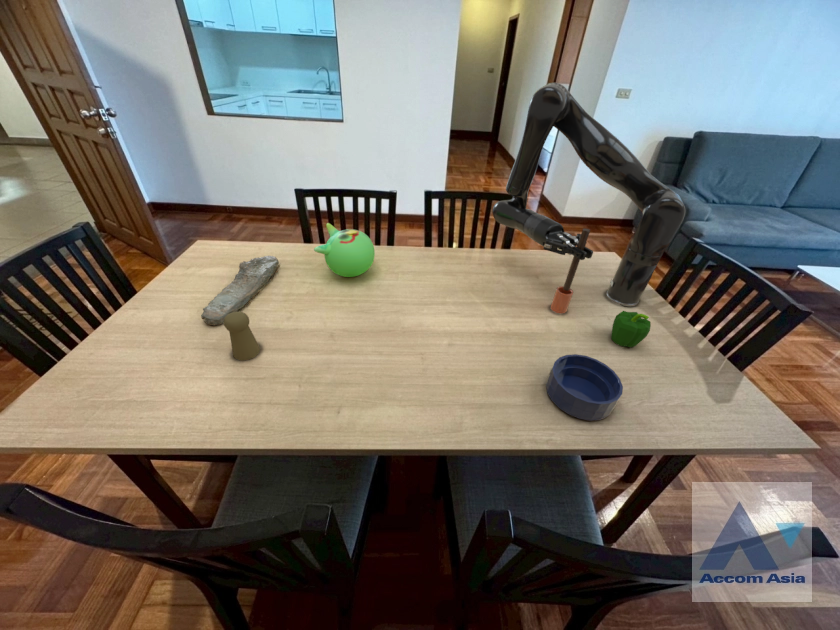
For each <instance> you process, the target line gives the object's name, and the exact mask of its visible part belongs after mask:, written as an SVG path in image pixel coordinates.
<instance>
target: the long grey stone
mask: <svg viewBox="0 0 840 630" xmlns="http://www.w3.org/2000/svg"><path fill="white" fill-rule="evenodd" d="M279 265H280V262H279V260H278V258H277V256H273V255H264V256H260V257H254V258H251V259H250V260H247V261H245V260H243V262H240V263H239V265H238V268H239V270H238V272H237V273H236V274H235V275H234V279H233V280H232V281H231V282H230V283H229V284H227V285H226V286H225V287H224V288H222V290H221V291H220V293H217V294H216V295H215V296H214V297H213V299H212V300H211V301H209V302H208V304H207V305H206V306H205V307H203V308H202V314H201V315H200V317H201V319H202V320H204V323H205V324H206V325H209V326H220V325H223V324H224V319H225V317H226V316H227V315H228V314H230V313H232V312H238V311H240V309H242V308H243V307H244V306H245V305H246V304H247V303H248V302H249V301H250V300H251V299H252V298H253V297H254V296H255V295H257V294H258V293H259V291H260V290H261V289H262V288H263V286H264V285H265V284H267V283H268V281H270V279H271V277H272V276H273V275H274V274H275V273H276V270H277V269H278V267H279Z"/></svg>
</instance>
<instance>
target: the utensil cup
mask: <svg viewBox="0 0 840 630" xmlns="http://www.w3.org/2000/svg"><path fill="white" fill-rule="evenodd" d="M563 287H564V285H561V286H557V287H556V290H555V293H554V296H553V299H552V301H551V303H550V304H551V305H550V309H551V311H553V312H554V313H557V314H566V313H567V311H568V309H569V306H570V303H571V302H572V301H571V300H572V298H573V295H574V290H573V288H570V290H569V291H566V290H564V289H563Z"/></svg>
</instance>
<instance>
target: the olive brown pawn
mask: <svg viewBox="0 0 840 630" xmlns="http://www.w3.org/2000/svg"><path fill="white" fill-rule="evenodd" d="M249 325H250V318H249V315H248V314H247V313H246V312H245V311H244V312H243V311H241V310H238V311H237V312H232V313H230V314H228V315H227V316H226V317H225V319H224V323H223V326H224V328H225V329H226V330H227V331H228V332H229V333H228V334H229V338H230V339H229V340H230V344H231V350H232V356H233V358H234V359H235V360H237V361H248V360H252V359H253V358H255V357H257V356H258V355H259V353H260V352H261V347H260V344H259V343H258V341H257V339H256V336H255V335H254V333H253V332H252V329H251V327H250V326H249Z"/></svg>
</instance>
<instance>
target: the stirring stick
mask: <svg viewBox="0 0 840 630" xmlns="http://www.w3.org/2000/svg"><path fill="white" fill-rule="evenodd" d="M590 233H591V229H590V228H582V230H581V233H580V234H581V236H580V239H579V242H578V245H576V247H578V248H579V249H581V250H584V247H586V245H587V243H586V242H587V241H588V239H589V236H590ZM585 244H586V245H585ZM580 261H581V260H580V259H578V258H577V257H575V256H573V257H572V260H571V263H570V266H569V269H568V272H567V274H566V277H565V281H564V284H563V286H564V287H563V289H564V290H566V291H569V290H570V289H571V288H572V287H571V286H572V284H573V281H574V279H575V275H576V272H577V270H578V267H579V264H580Z"/></svg>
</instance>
